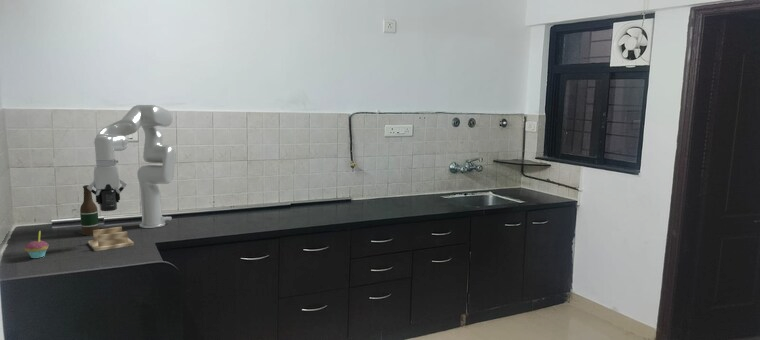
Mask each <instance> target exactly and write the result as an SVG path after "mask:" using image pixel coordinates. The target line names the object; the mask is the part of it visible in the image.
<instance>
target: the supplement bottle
mask: <svg viewBox="0 0 760 340" xmlns="http://www.w3.org/2000/svg"><path fill="white" fill-rule="evenodd" d="M105 188H106V189H103V190H101V191H100V193H99V195H100V201H101V204H99V208H100V211H101V212H112V211H116V210H117V209H118V202H117V199H116V190H115V189H114V188H113V189H112V187H111V185H110V184H107V185H106V187H105Z"/></svg>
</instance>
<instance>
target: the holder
mask: <svg viewBox="0 0 760 340" xmlns="http://www.w3.org/2000/svg"><path fill="white" fill-rule="evenodd" d="M128 232H129V231H123V227H122V226H116V227H109V228H102V229H100V228H99V230H93V235H92V236H93V240H88V245H89V246H90V248H91V249H93V251H94V252H99V251H105V250H111V249H118V248H127V247H132V246H135V243H134V241H133V240H131V239H130V238H129V235H128V234H129V233H128Z"/></svg>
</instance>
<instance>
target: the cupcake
mask: <svg viewBox="0 0 760 340" xmlns="http://www.w3.org/2000/svg"><path fill="white" fill-rule="evenodd" d="M41 234H42V233H41V230H39V231H38V238H37V240H34V241H33V240H32V241H29V242H28V243H27V244H25V246H24V251H25V252H27V253H28V254H29V256H30V258H39V257H43V256H44V257H46V252H47V250H48V249H49V246H50V245H49V243H48V242H46V241H44V240H41ZM44 257H43V258H44Z"/></svg>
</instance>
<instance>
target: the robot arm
mask: <svg viewBox="0 0 760 340" xmlns="http://www.w3.org/2000/svg"><path fill="white" fill-rule="evenodd" d="M173 120H174V119H173V115H172V112H170V110H168V109H165V108H163V107H161V106H158V105H155V104H136V105H134V106H132V107H131V108H130V110H129V111H128V112H127V113H126V114H125V115H124V116H123V117H122V119H119V120H117V121H115V122H113V123H111V124H109V125H106V126H104V127H103V128H102V129H101V130H100V131H99V132H98V134H96V136H95V138H94V140H93V142H94V143H93V144H94V153H95V166H94V168H93V181H92V182H91V183H90V184H88V185H89V186H88V187H87V189H89V190H90V191H91V193H92V194H94V195H95V203H97V204H98V205H100V204H101V201H100V195H99V193H100V191H101V190H103V189H106V188H105V187H106V185H107V184H110V185H111V187H112V189H115V190H116V199H117V203H120V201H121V195H120V194H121V193H122V191H123V190H124V189H125V187H127V183H126V182H124V181H123V180H121V179H120V175H119V170H118V167H117V165H116V164H119V160H118V159H117V160H116V158H115V152H121V151H125V150H126V149H127V148H128V147H129V139H128V138H127V136H129V135H133V134H135V133H137V132H138V130H139V129H140V128H141V127H142V128H141V129H143V131H144V145H143V153H142V154H143V157H142V158H143V160H144V162H145V163H148V165H147V164H145V165H141V166H140V167H138V170H137V180H138V184H139V189H140V206H141V223H139V225H138V226H139V227H140V228H142V229H155V228H160V227H164V226H165V225H166V221H172V219H173V218H172V216H163V215H162V214H163V213H162V198H161V197H162V194H161V189H160V188H159V186H158V185H167V184H171V183H172V181H173V180H174V179H173V178H174V175H175V166H176V150H175V148H174V147H173V146H172V145H170V144H163V142H164V141H163V140H164V139H163V138H164V137H163V134H162V132H161V130H160V129H159V128H166V127H169V126H171V125H172V124H173ZM153 164H154V165H153ZM156 164H157V165H156ZM159 164H161V165H159ZM120 185H121V186H120ZM93 188H94V189H96V190H94V189H93Z"/></svg>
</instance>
